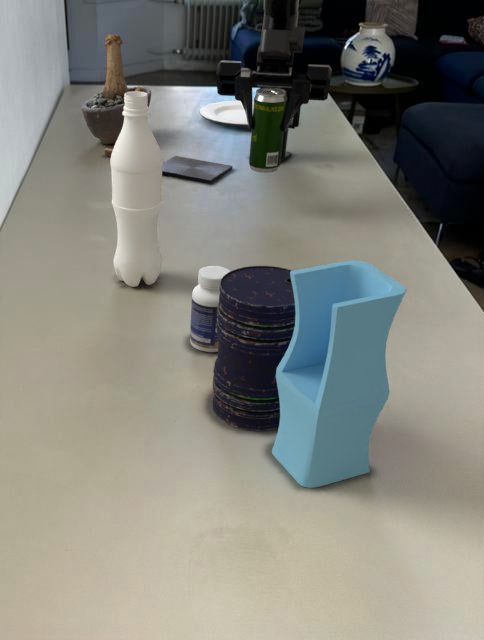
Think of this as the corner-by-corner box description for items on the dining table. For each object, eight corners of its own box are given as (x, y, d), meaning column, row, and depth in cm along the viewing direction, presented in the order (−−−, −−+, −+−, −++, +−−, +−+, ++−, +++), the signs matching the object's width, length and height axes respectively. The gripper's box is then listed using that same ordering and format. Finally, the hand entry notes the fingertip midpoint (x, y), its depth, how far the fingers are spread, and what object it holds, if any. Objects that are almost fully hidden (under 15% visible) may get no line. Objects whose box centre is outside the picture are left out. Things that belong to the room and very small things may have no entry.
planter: (151, 129, 174) (150, 27, 161) (153, 151, 162) (153, 42, 149) (86, 129, 174) (80, 27, 161) (83, 151, 161) (77, 42, 148)
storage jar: (235, 439, 83) (246, 314, 74) (196, 394, 90) (202, 274, 80) (312, 419, 86) (333, 296, 77) (269, 377, 93) (284, 259, 83)
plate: (291, 133, 173) (292, 123, 172) (200, 131, 173) (200, 122, 172) (281, 109, 189) (282, 100, 187) (198, 108, 189) (198, 99, 188)
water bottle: (168, 273, 116) (171, 90, 99) (152, 293, 110) (152, 103, 94) (124, 266, 117) (119, 85, 101) (106, 285, 112) (99, 98, 96)
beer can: (286, 169, 131) (294, 92, 123) (261, 175, 129) (268, 97, 121) (266, 161, 135) (273, 85, 126) (242, 166, 132) (248, 89, 124)
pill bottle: (218, 357, 97) (223, 285, 90) (182, 346, 99) (184, 274, 92) (238, 340, 100) (244, 269, 94) (202, 329, 102) (206, 259, 96)
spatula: (232, 170, 153) (233, 159, 152) (210, 184, 146) (211, 173, 145) (119, 149, 162) (119, 139, 161) (94, 162, 156) (94, 152, 155)
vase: (266, 447, 82) (289, 270, 69) (328, 431, 85) (361, 257, 71) (304, 490, 77) (337, 307, 64) (369, 472, 79) (414, 291, 66)
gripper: (220, 2, 120) (208, 97, 120) (340, 6, 118) (328, 104, 117) (223, 49, 131) (212, 136, 131) (332, 53, 129) (322, 143, 128)
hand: (267, 129), depth 126 cm, fingers closed on beer can, 5 cm apart
